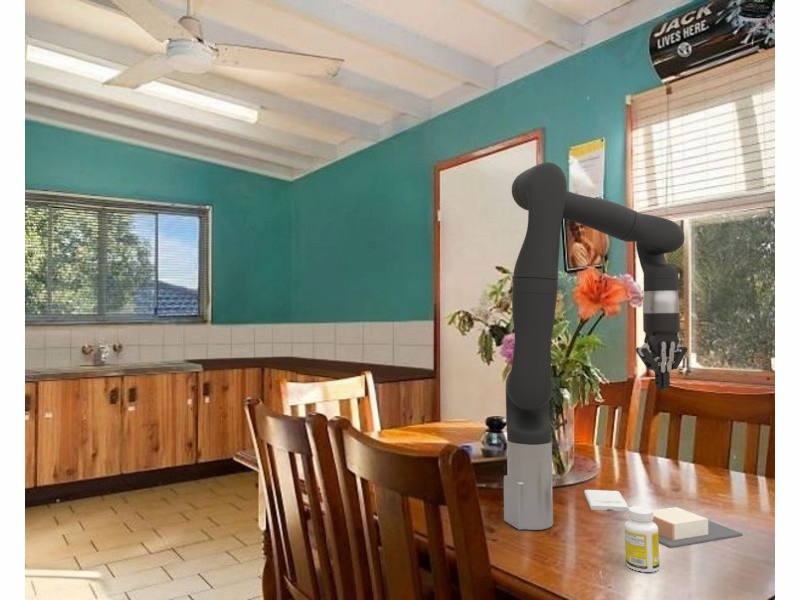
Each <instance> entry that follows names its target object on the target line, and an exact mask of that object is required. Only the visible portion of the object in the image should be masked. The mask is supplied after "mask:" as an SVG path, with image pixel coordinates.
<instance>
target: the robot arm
mask: <svg viewBox="0 0 800 600" xmlns="http://www.w3.org/2000/svg"><path fill="white" fill-rule="evenodd" d="M511 196H512V198H513V201H514V203H516V205H517V206H518V207H519V208H521V209H523V210H525V211H527V212H528V213H527V216H528V218H527V227H526V233H525V236H524V240H523V242H522V245H521V247H520V250H519V253H518V256H517V259H516V261H515V265H514V270H513V274H512V293H511V307H512V312H511V313H512V324H513V332H514V347H513V348H514V349H513V355H512V362H511V363H512V364H511V369H510V372H509V373H508V375H507V376H506V379H505V409H506V410H505V411H506V412H505V413H506V415H505V416H506V417H505V421H506V438H507V439H506V449H507V450H506V451H507V452H506V453H507V454H506V457H507V459H506V462H507V463H506V464H507V466H506V467H507V468H506V469H507V475H506V474H505V475H504V476H503V521H504V522H506V523H507V524H509V525H510V526H512V527H514V528H516V529H517V530H528V531H530V530H531V531H533V530H534V531H538V530H546V529H549V528H551V527H553V526H554V512H553V511H554V509H553V508H554V506H553V503H554V501H553V445H552V444H553V443H552V442H553V441H552V440H553V436H552V425H551V423H552V422H551V416H550V413H551V412H550V411H551V410H550V399H551V397H552V394H553V378H552V359H551V358H552V357H551V356H552V355H551V349H552V348H551V346H552V338H553V337H552V335H553V330H554V326H555V325H554V324H555V317H556V307H557V301H558V300H557V297H558V287H559V286H558V283H559V282H558V280H559V259H560V247H561V246H560V245H561V243H560V241H561V230H562V222H563V220H566V221H569V222H573V223H575V224H579V225H581V226H585V227H588V228H590V229H592V230H595V231H597V232H600V233H602V234H605V235H607V236H610V237H612V238H615V239H616V240H619V241H623V242H625V243H627V242H628V243H629V242H631V243H632V242H635V249H636V252H637V256H638V260H639V265H640V267H641V270H642V273H643V297H642V325H643V326H642V327H643V333H644V334H645V337H644V339H643V344H642V346H640V347H638V346H637V347H636V348H635V352H636V354H637V355H638V357H639V359H640V360H641V362H642V363H643V364H644V366H645V367H646V369H647V370H651V371H653V372H654V384H655V388H656V389H657V390H661V391H663V390H669V389H670V386H671V380H670V379H671V377H670V375H671V374H670V373H672V371H673V370H677V369H678V368H679V366H680V364H681V363H682V361H683V359H684V357H685V356H686V354H687V352H688V347H687V346H683V345H682V344H681V343H680V339H679V337H678V333H680V331H681V319H680V318H681V317H680V315H681V314H680V298H679V288H678V287H679V286H678V285H679V284H678V270H677V267H675V266H674V265H672V264H667V261H666V257H665V254H669V253H671V254H672V253H674V252H676V251H677V250H679V249H680V248H681V247H682V246H683V245H684V242H685V233H684V231H683V229H682V227H681V226H680V225H679V224H677V223H676V222H675V221H673V220H671V219H669V218H664V217H661V216H656V215H653V214H646V213H642V212H639V211H636V210H634V209H631V207H630V208H629V207H627V206H624V205H622V204H619V203H617V202H614V201H610V200H607V199H603V198H599V197H591V196H587V195H582V194H579V193H575V192H572V191H569V190H568V183H567V178H566V175H565V172H564V171H563V170H562V168H561V167H560V165H558V164H556V163H555V162H554V163H553V162H550V161H547V162H541V163H539V164H536V165H534V166H532V167H530V168H528V169H526V170H523V172H521V173H520V174H518V175H517V176H516V178H515V179H514V180H513V181H512V185H511Z"/></svg>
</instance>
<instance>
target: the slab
mask: <svg viewBox="0 0 800 600" xmlns="http://www.w3.org/2000/svg"><path fill="white" fill-rule="evenodd" d="M652 510H653V509H652ZM653 516H654V518H653V520H652V522H654V523H655V524H656V525H657V527H658V534H659V535H661V536H663V537H666V538H668V539H670V540H672V541H673V540H678V539H684V538H690V537H696V536H702V535H708V520H709V519H708V518H707V517H705V516H701V515H698V514H696V513H694V512H691V511H688V510H685V509H683V508H681V507H678V506H674V507H667V508H660V509H654V510H653Z"/></svg>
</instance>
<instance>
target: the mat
mask: <svg viewBox="0 0 800 600" xmlns="http://www.w3.org/2000/svg"><path fill="white" fill-rule="evenodd" d="M743 534H744V533H742V532H740V531H737V530H735V529H733V528H729V527H727V526H725V525H721V524H719V523H717V522H713V521H712V520H709V519H708V535H702V536H696V537H690V538H684V539H678V540H673V541H672V540H670V539H668V538H666V537H663V536H661V535H659V534H658V538H659V544H660V545H664V546H666V547H667V548H670V549H671V548H672V547H673V548H678V547H677V546H679V547H683V545H684V546H689V544H690V545H695V544H700V543H707V541H708V542H712V541H718V540H723V539H724V540H726V539H730V538H735V537H741V536H743ZM673 548H672V549H673Z"/></svg>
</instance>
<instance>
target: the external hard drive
mask: <svg viewBox="0 0 800 600" xmlns="http://www.w3.org/2000/svg"><path fill="white" fill-rule="evenodd" d="M583 492H584V496H585V498H586V501H587V503H588V506H589V508H590V510H592V511H593V510H594V511H614V512H629V508H630V507H629V505H628V504H627V503H626V501H625V498H624V497H623V496H622V494H621V492H620V491H618V490H606V489H605V490H602V489H585V490H584V491H583Z"/></svg>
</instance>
